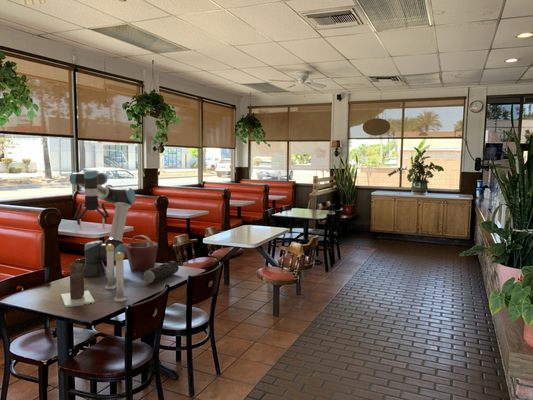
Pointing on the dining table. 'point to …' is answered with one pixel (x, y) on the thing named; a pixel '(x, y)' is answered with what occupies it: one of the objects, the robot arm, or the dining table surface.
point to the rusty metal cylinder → (76, 280)
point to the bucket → (141, 254)
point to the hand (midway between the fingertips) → (92, 229)
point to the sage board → (77, 299)
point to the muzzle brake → (160, 272)
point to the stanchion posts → (119, 273)
